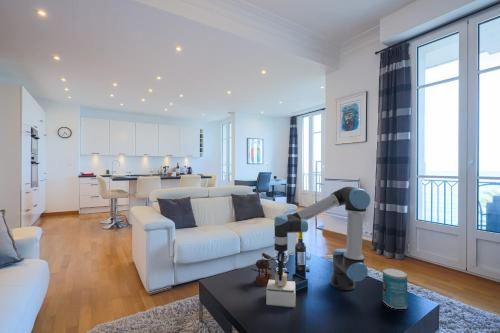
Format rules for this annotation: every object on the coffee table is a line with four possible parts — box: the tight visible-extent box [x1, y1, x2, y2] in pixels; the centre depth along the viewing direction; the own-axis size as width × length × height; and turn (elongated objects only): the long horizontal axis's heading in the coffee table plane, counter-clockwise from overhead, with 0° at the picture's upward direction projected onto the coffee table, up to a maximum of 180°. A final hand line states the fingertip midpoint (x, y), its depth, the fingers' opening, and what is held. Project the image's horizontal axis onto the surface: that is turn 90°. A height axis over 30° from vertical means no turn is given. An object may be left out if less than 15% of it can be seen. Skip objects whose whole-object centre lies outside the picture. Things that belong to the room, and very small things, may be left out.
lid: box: [266, 279, 296, 292], centre depth 148 cm, size 16×12×1 cm
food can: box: [382, 267, 408, 310], centre depth 143 cm, size 12×12×18 cm
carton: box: [265, 288, 296, 308], centre depth 148 cm, size 16×12×8 cm
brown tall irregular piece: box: [250, 252, 274, 287], centre depth 171 cm, size 15×11×20 cm
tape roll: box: [274, 271, 288, 286], centre depth 148 cm, size 7×7×5 cm
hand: (281, 282), depth 148 cm, fingers closed on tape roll, 7 cm apart
